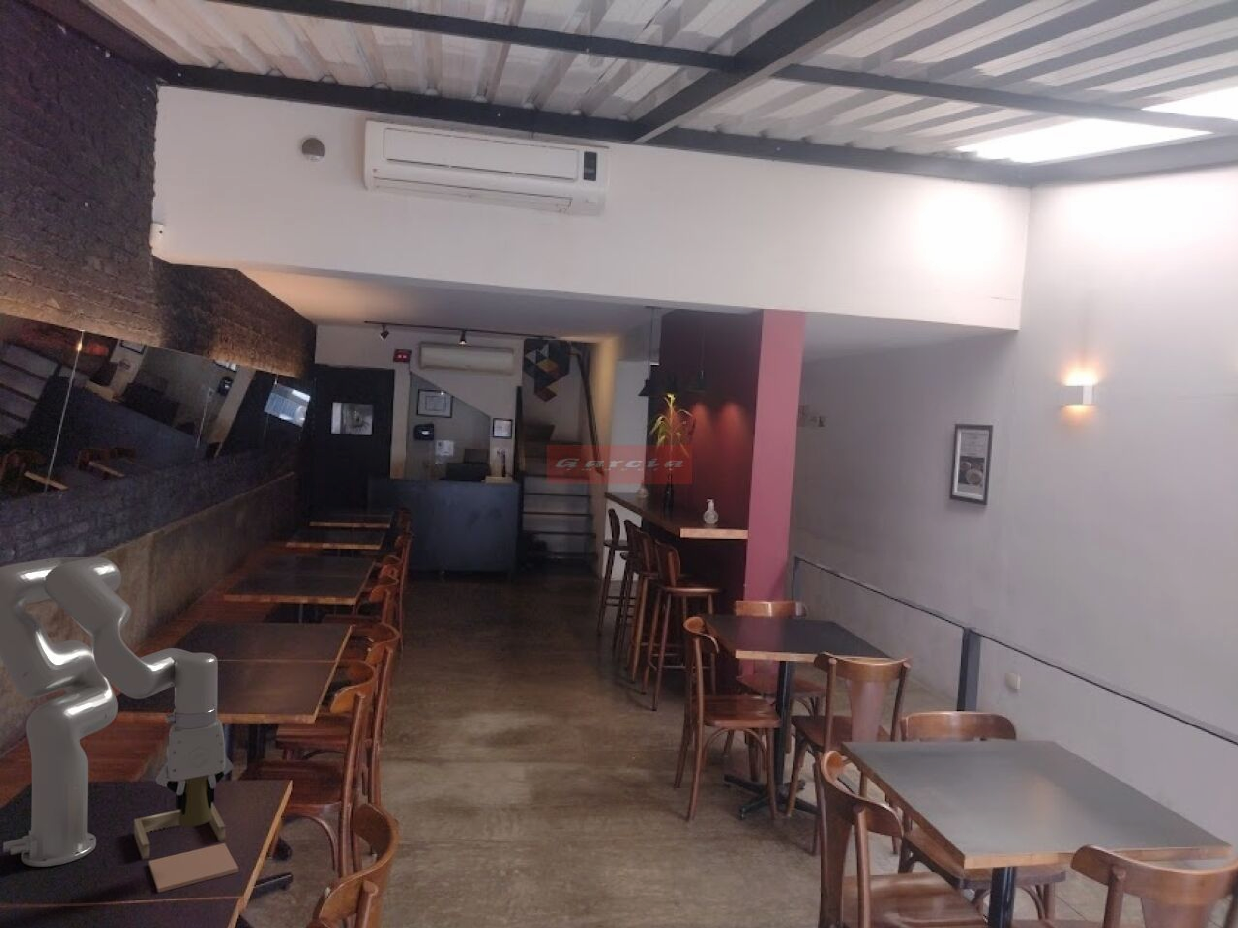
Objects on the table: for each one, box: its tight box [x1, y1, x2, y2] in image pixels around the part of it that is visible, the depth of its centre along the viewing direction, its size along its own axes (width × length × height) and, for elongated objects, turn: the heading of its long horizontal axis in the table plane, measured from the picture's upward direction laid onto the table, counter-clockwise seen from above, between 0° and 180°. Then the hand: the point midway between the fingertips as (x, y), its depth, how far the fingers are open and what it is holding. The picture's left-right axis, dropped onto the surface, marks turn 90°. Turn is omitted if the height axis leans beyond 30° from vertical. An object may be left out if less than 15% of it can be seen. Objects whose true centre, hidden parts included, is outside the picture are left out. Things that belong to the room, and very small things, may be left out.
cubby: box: [133, 802, 226, 861], centre depth 180 cm, size 15×13×3 cm
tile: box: [148, 842, 239, 894], centre depth 167 cm, size 14×12×1 cm
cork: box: [178, 776, 212, 827], centre depth 167 cm, size 6×6×11 cm
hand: (195, 807), depth 167 cm, fingers closed on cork, 3 cm apart
